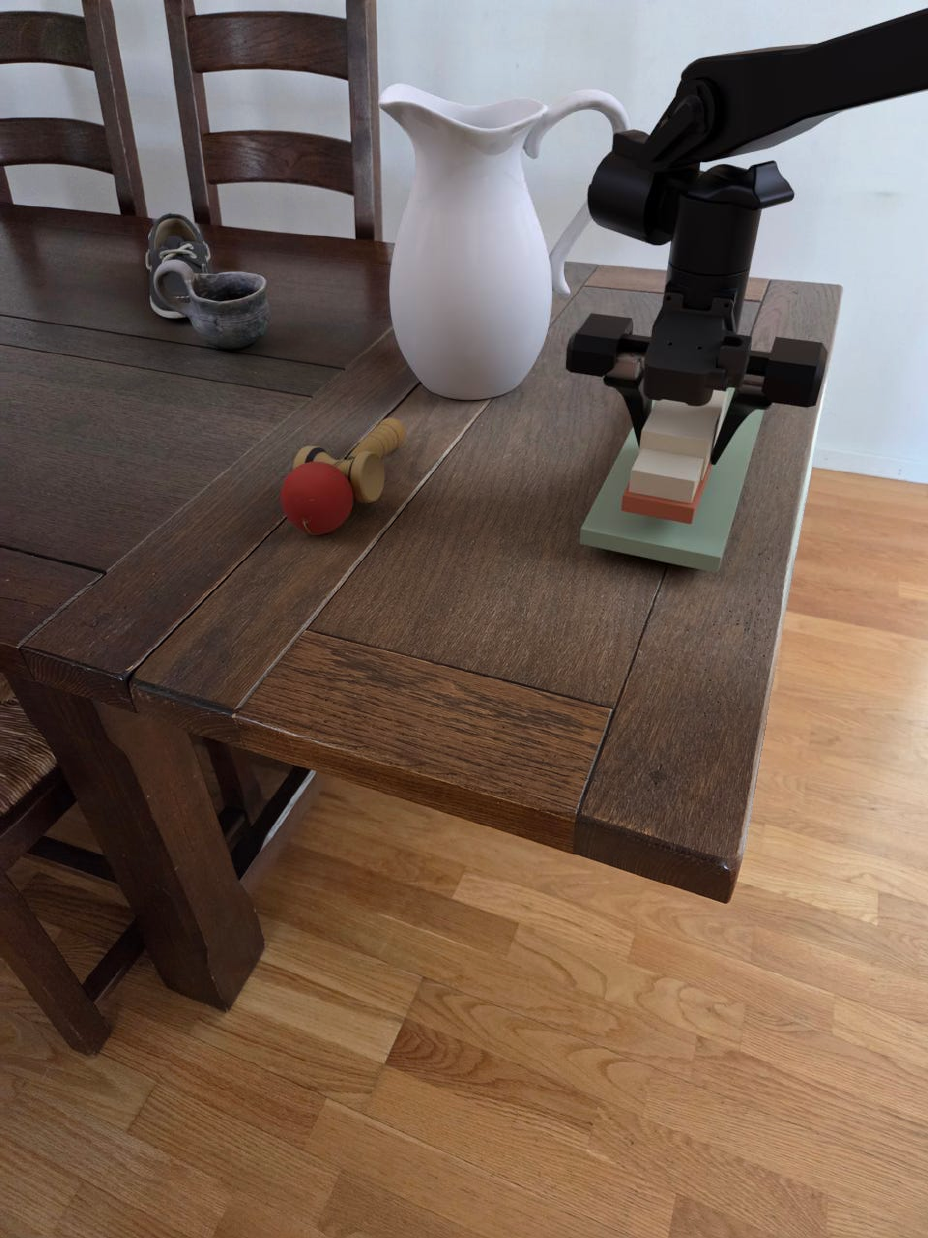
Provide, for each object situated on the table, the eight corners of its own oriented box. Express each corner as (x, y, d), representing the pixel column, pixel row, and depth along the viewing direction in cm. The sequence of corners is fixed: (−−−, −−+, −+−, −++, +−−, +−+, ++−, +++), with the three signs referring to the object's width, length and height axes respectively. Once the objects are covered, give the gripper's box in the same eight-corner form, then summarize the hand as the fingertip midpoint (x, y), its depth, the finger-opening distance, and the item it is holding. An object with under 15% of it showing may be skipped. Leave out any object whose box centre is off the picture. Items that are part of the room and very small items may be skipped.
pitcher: (395, 417, 89) (372, 110, 71) (395, 350, 102) (375, 74, 83) (624, 407, 90) (659, 101, 71) (595, 341, 102) (619, 67, 84)
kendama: (350, 450, 86) (254, 526, 72) (359, 391, 83) (258, 459, 68) (420, 476, 85) (336, 558, 71) (432, 417, 81) (345, 491, 67)
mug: (281, 352, 102) (267, 265, 95) (173, 368, 99) (151, 280, 92) (269, 322, 109) (255, 239, 102) (168, 336, 106) (147, 252, 99)
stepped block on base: (658, 429, 76) (666, 376, 73) (721, 439, 75) (732, 386, 72) (620, 511, 67) (627, 454, 63) (691, 525, 65) (702, 467, 62)
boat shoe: (223, 322, 109) (210, 262, 104) (148, 330, 107) (132, 269, 102) (219, 259, 127) (208, 205, 122) (155, 265, 126) (142, 211, 121)
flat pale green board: (668, 376, 95) (671, 350, 93) (770, 391, 92) (776, 364, 90) (577, 558, 70) (580, 528, 68) (714, 588, 67) (721, 557, 65)
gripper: (548, 285, 58) (539, 484, 68) (841, 320, 52) (784, 531, 62) (592, 236, 66) (579, 421, 76) (851, 262, 60) (799, 458, 70)
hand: (677, 456), depth 71 cm, fingers closed on stepped block on base, 5 cm apart
